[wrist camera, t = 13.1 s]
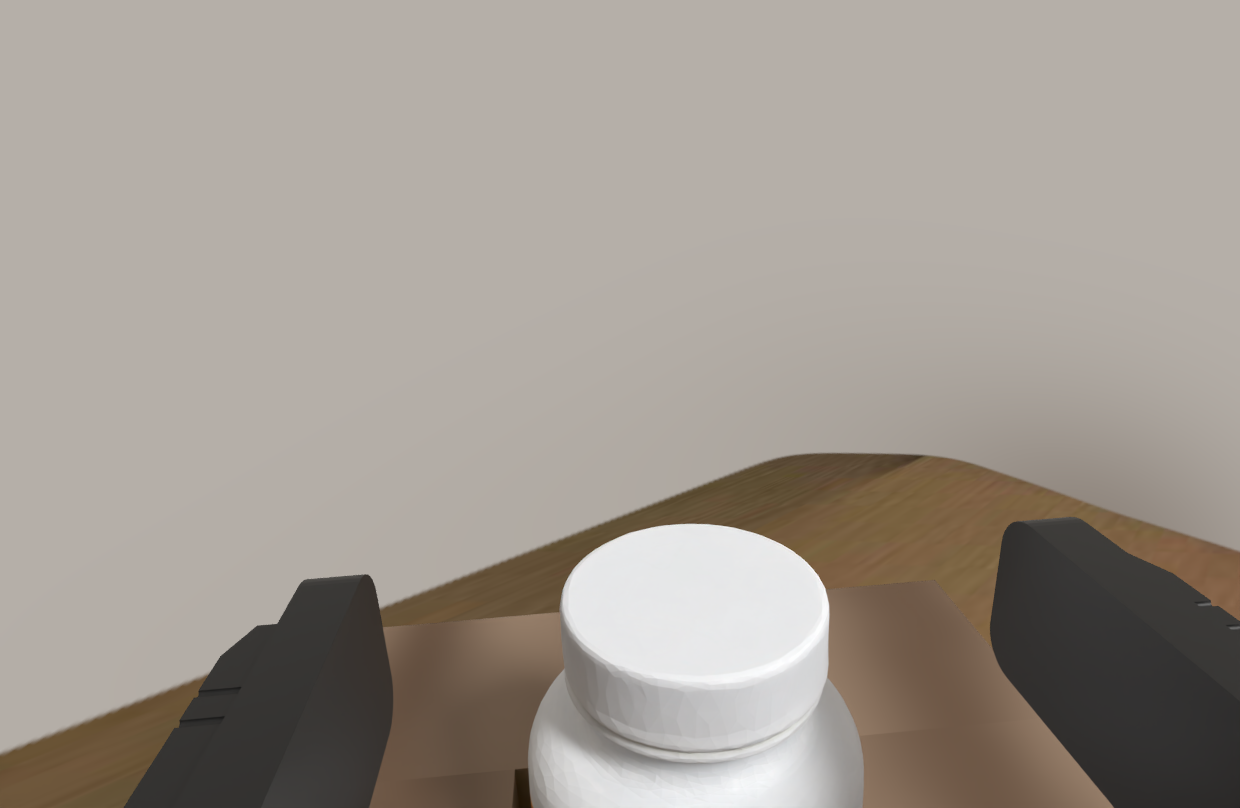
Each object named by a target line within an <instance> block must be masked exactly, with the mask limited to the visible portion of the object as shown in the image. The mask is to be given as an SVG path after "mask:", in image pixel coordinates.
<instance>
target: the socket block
mask: <svg viewBox="0 0 1240 808" xmlns="http://www.w3.org/2000/svg"><path fill="white" fill-rule="evenodd" d="M825 590H826V594H827V598H828V602H829V634H828V661H829V665H828V674H827V678H828V679H829V680H830V681H831V682H832V684H833V685H834V686H835V688H836V689H837V690H838V692H839V693H840V695H841V696H842V698H843V700H844V702H845V704H846V706H847V708H848V709H849V711H850V713H851V715H852V718H853V720H854V723H855V725H856V728H857V731H858V734H859V738H860V742H861V747H862V753H863V764H864V791H863V808H1114V807H1113V806H1112V804H1111V803H1110V802H1109V801H1108V800H1107V798H1106V797H1105V796H1104V795H1103V794H1102V792H1101V791H1100V790H1099V789H1098V787H1097V786H1096V785H1095V784H1094V783H1093V781H1092V780H1091V779H1090V778H1089V777H1088V775H1087V774H1086V773H1085V772H1084V771H1083V769H1082V768H1081V767H1080V766H1079V764H1078V763H1077V762H1076V761H1075V760H1074V758H1073V757H1072V756H1071V755H1070V754H1069V752H1068V751H1067V750H1066V749H1065V748H1064V746H1063V745H1062V744H1061V743H1060V741H1059V740H1058V739H1057V738H1056V737H1055V735H1054V734H1053V733H1052V732H1051V731H1050V729H1049V728H1048V727H1047V726H1046V725H1045V723H1044V722H1043V721H1042V720H1041V718H1040V717H1039V716H1038V715H1037V714H1036V712H1035V711H1034V710H1033V709H1032V708H1031V706H1030V705H1029V704H1028V703H1027V701H1026V700H1025V699H1024V698H1023V697H1022V695H1021V694H1020V693H1019V692H1018V691H1017V689H1016V688H1015V687H1014V686H1013V685H1012V683H1011V682H1010V681H1009V680H1008V678H1007V677H1006V676H1005V674H1004V673H1003V672H1002V670H1001V668H1000V666H999V664H998V662H997V660H996V657H995V654H994V651H993V649H992V648H991V647H990V645H989V644H988V643H987V642H986V641H985V639H984V638H983V637H982V636H981V635H980V633H979V632H978V631H977V630H976V629H975V627H974V626H973V625H972V624H971V623H970V622H969V620H968V619H967V618H966V617H965V616H964V614H963V613H962V612H961V611H960V610H959V608H958V607H957V606H956V605H955V604H954V602H953V601H952V600H951V599H950V598H949V596H948V595H947V594H946V593H945V592H944V590H943V589H942V588H941V587H940V586H939V584H938V583H937V582H936V581H935V580H930V581H918V582H907V583H895V584H884V585H872V586H860V587H849V588H837V589H825ZM383 631H384V637H385V642H386V648H387V653H388V658H389V664H390V669H391V675H392V682H393V717H392V724H391V730H390V734H389V738H388V741H387V745H386V749H385V752H384V756H383V759H382V763H381V767H380V770H379V774H378V778H377V781H376V785H375V788H374V792H373V796H372V799H371V803H370V806H369V808H531V799H530V787H529V772H528V749H529V740H530V733H531V729H532V725H533V722H534V719H535V716H536V714H537V711H538V708H539V706H540V703H541V701H542V699H543V698H544V696H545V694H546V693H547V691H548V689H549V687H550V686H551V684H552V683H553V682H554V680H555V679H556V678H557V677H558V675H559V674H560V673H561V672H562V671H563V669H564V668H565V667H564V659H563V649H562V640H561V621H560V612H558V613H546V614H534V615H523V616H511V617H499V618H488V619H476V620H464V621H453V622H441V623H430V624H418V625H406V626H395V627H383Z"/></svg>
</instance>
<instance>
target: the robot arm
mask: <svg viewBox="0 0 1240 808" xmlns="http://www.w3.org/2000/svg"><path fill="white" fill-rule="evenodd" d="M990 636H991V642H992V647H993V651H994V654H995V657H996V660H997V662H998V664H999V666H1000V668H1001V670H1002V672H1003V673H1004V674H1005V676H1006V677H1007V678H1008V680H1009V681H1010V682H1011V683H1012V685H1013V686H1014V687H1015V688H1016V689H1017V691H1018V692H1019V693H1020V694H1021V695H1022V697H1023V698H1024V699H1025V700H1026V701H1027V703H1028V704H1029V705H1030V706H1031V708H1032V709H1033V710H1034V711H1035V712H1036V714H1037V715H1038V716H1039V717H1040V718H1041V720H1042V721H1043V722H1044V723H1045V725H1046V726H1047V727H1048V728H1049V729H1050V731H1051V732H1052V733H1053V734H1054V735H1055V737H1056V738H1057V739H1058V740H1059V741H1060V743H1061V744H1062V745H1063V746H1064V748H1065V749H1066V750H1067V751H1068V752H1069V754H1070V755H1071V756H1072V757H1073V758H1074V760H1075V761H1076V762H1077V763H1078V764H1079V766H1080V767H1081V768H1082V769H1083V771H1084V772H1085V773H1086V774H1087V775H1088V777H1089V778H1090V779H1091V780H1092V781H1093V783H1094V784H1095V785H1096V786H1097V787H1098V789H1099V790H1100V791H1101V792H1102V794H1103V795H1104V796H1105V797H1106V798H1107V800H1108V801H1109V802H1110V803H1111V804H1112V806H1113V807H1114V808H1240V621H1239V620H1237V619H1236V618H1234V617H1233V616H1232V615H1230V614H1229V613H1227V612H1226V611H1225V610H1223V609H1222V608H1220V607H1219V606H1212V605H1211V600H1209V599H1208V598H1206V597H1205V596H1204V595H1202V594H1201V593H1199V592H1198V591H1197V590H1195V589H1194V588H1192V587H1191V586H1190V585H1188V584H1187V583H1185V582H1184V581H1183V580H1181V579H1180V578H1179V577H1177V576H1176V575H1174V574H1173V573H1171V572H1168V571H1166V570H1164V569H1162V568H1160V567H1157V566H1155V565H1153V564H1151V563H1148V562H1146V561H1144V560H1142V559H1139V558H1137V557H1135V556H1133V555H1131V554H1128V553H1127V552H1125V551H1124V550H1123V549H1121V548H1120V547H1118V546H1117V545H1116V544H1114V543H1113V542H1112V541H1110V540H1109V539H1108V538H1106V537H1105V536H1104V535H1102V534H1101V533H1099V532H1098V531H1097V530H1095V529H1094V528H1093V527H1091V526H1090V525H1089V524H1087V523H1086V522H1084V521H1083V520H1081V519H1079V518H1076V517H1065V518H1053V519H1042V520H1030V521H1018V522H1013V523H1012V524H1010V525H1009V526H1008V527H1007V529H1006V530H1005V532H1004V535H1003V539H1002V545H1001V552H1000V559H999V566H998V573H997V580H996V587H995V594H994V601H993V608H992V615H991V623H990ZM392 717H393V682H392V675H391V669H390V664H389V658H388V653H387V648H386V642H385V637H384V631H383V626H382V621H381V615H380V610H379V604H378V599H377V594H376V589H375V586H374V583H373V580H372V579H371V577H370V576H369V575H353V576H342V577H330V578H318V579H307V580H304V581H303V582H301V584H300V585H299V587H298V588H297V590H296V592H295V594H294V595H293V597H292V599H291V601H290V602H289V604H288V606H287V608H286V610H285V612H284V613H283V615H282V617H281V618H280V620H279V622H278V624H272V625H261V626H256V627H255V628H254V629H253V630H252V631H250V632H249V633H248V634H247V635H246V636H245V637H243V638H242V639H241V640H240V641H238V642H237V643H236V644H235V645H234V646H232V647H231V648H230V649H229V650H228V651H226V652H225V653H224V654H223V655H222V656H220V658H219V660H218V661H217V663H216V664H215V666H214V667H213V669H212V670H211V672H210V674H209V675H208V677H207V678H206V680H205V681H204V683H203V685H202V686H201V688H200V689H199V696H198V697H197V698H194V699H193V700H192V702H191V703H190V705H189V706H188V708H187V710H186V711H185V713H184V714H183V716H182V717H181V719H180V726H179V728H174V730H173V731H172V733H171V735H170V736H169V738H168V739H167V741H166V742H165V744H164V745H163V747H162V749H161V750H160V752H159V753H158V755H157V756H156V758H155V759H154V761H153V763H152V764H151V766H150V767H149V769H148V770H147V772H146V774H145V775H144V777H143V778H142V780H141V781H140V783H139V784H138V786H137V788H136V789H135V791H134V792H133V794H132V795H131V797H130V799H129V800H128V802H127V803H126V805H125V806H124V808H369V806H370V803H371V799H372V796H373V792H374V788H375V785H376V781H377V778H378V774H379V770H380V767H381V763H382V759H383V756H384V752H385V749H386V745H387V741H388V738H389V734H390V730H391V724H392Z"/></svg>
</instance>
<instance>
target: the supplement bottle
mask: <svg viewBox="0 0 1240 808" xmlns="http://www.w3.org/2000/svg"><path fill="white" fill-rule="evenodd" d="M560 621H561V640H562V649H563V659H564V667H565V668H564V669H563V671H562V672H561V673H560V674H559V675H558V677H557V678H556V679H555V680H554V682H553V683H552V684H551V686H550V687H549V689H548V691H547V693H546V694H545V696H544V698H543V699H542V701H541V703H540V706H539V708H538V711H537V714H536V716H535V719H534V722H533V725H532V729H531V733H530V740H529V749H528V772H529V787H530V799H531V808H863V791H864V764H863V753H862V747H861V742H860V738H859V734H858V731H857V728H856V725H855V723H854V720H853V718H852V715H851V713H850V711H849V709H848V708H847V706H846V704H845V702H844V700H843V698H842V696H841V695H840V693H839V692H838V690H837V689H836V688H835V686H834V685H833V684H832V682H831V681H830V680H829V679H828V678H827V674H828V665H829V661H828V634H829V602H828V598H827V594H826V590H825V587H824V586H823V584H822V582H821V580H820V578H819V576H818V575H817V574H816V572H815V571H814V570H813V569H812V568H811V566H810V565H809V564H808V563H807V562H806V561H805V560H803V559H802V558H801V557H800V556H799V555H797V554H796V553H794V552H793V551H792V550H790V549H788V548H787V547H785V546H783V545H782V544H779V543H777V542H775V541H773V540H771V539H768V538H766V537H764V536H761V535H758V534H755V533H752V532H748V531H744V530H740V529H736V528H732V527H726V526H717V525H709V524H677V525H665V526H659V527H652V528H648V529H644V530H640V531H636V532H631V533H628V534H626V535H623V536H620V537H618V538H616V539H614V540H612V541H610V542H608V543H606V544H604V545H602V546H600V547H599V548H597V549H595V550H594V551H592V552H591V553H590V554H589V555H587V556H586V557H585V558H583V560H582V561H581V562H580V563H579V564H578V565H577V566H576V567H575V568H574V569H573V571H572V572H571V574H570V575H569V577H568V579H567V581H566V583H565V586H564V588H563V590H562V596H561V602H560Z"/></svg>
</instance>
